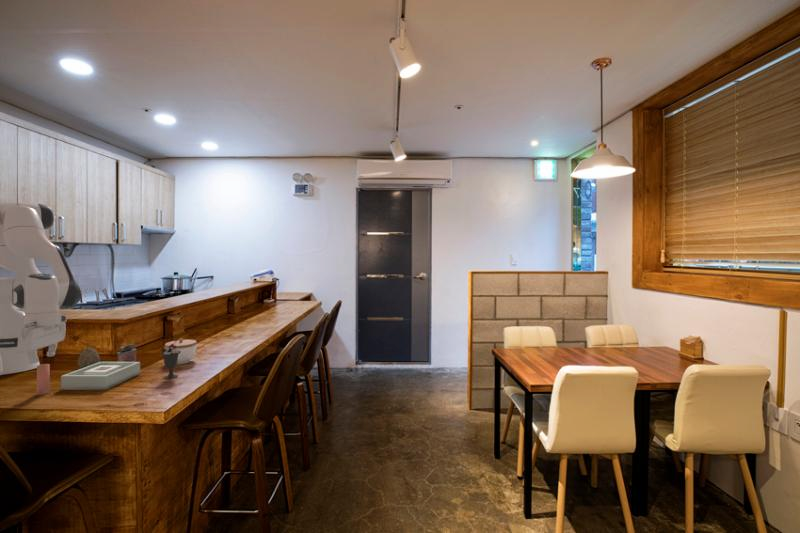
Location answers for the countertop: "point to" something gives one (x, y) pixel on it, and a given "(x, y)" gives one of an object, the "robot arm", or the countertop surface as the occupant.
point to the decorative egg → (88, 358)
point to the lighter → (127, 353)
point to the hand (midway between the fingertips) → (42, 359)
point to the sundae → (170, 359)
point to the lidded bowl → (184, 349)
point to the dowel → (43, 379)
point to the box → (100, 376)
